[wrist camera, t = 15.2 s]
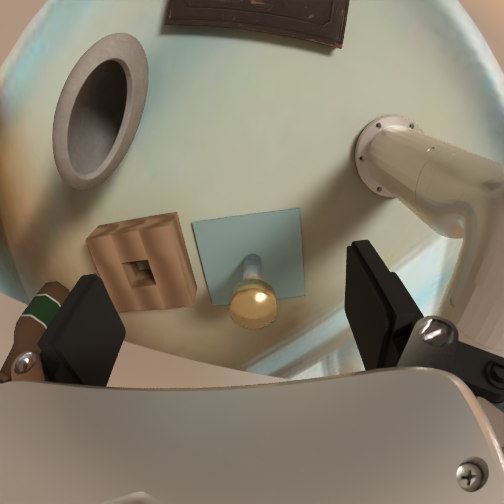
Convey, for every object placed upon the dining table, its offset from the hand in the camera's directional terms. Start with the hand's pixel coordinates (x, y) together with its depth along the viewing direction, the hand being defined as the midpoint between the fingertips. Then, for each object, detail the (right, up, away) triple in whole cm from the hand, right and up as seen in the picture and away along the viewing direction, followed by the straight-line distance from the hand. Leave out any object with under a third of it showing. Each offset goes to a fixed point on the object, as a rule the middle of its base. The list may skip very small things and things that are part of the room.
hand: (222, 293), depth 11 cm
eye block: (-16, +1, +38) cm, 41 cm away
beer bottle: (-38, -7, +42) cm, 57 cm away
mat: (+1, 0, +38) cm, 38 cm away
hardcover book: (+2, +37, +18) cm, 41 cm away
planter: (-15, +22, +26) cm, 37 cm away
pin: (+1, 0, +38) cm, 38 cm away
